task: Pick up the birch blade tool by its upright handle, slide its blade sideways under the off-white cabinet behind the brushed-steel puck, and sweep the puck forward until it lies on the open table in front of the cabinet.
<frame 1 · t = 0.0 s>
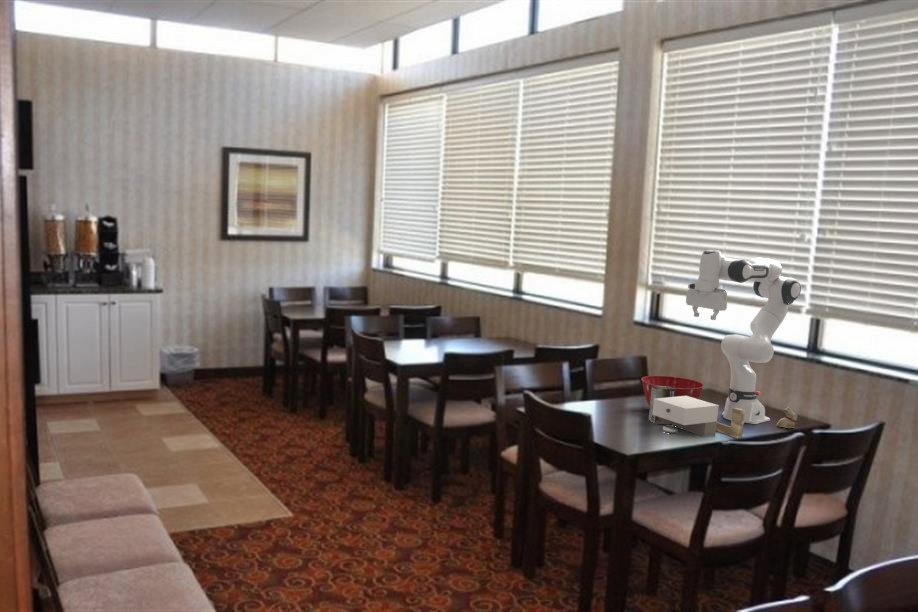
hand: (704, 318, 359), 48 cm above the table, tool pointing down, fingers open, 8 cm apart
chocolate bunny: (785, 428, 371), on the table
mixing bowl: (669, 414, 383), on the table
cabinet: (683, 431, 351), on the table
steel token: (669, 432, 348), on the table
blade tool: (735, 436, 348), on the table
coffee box: (660, 422, 364), on the table
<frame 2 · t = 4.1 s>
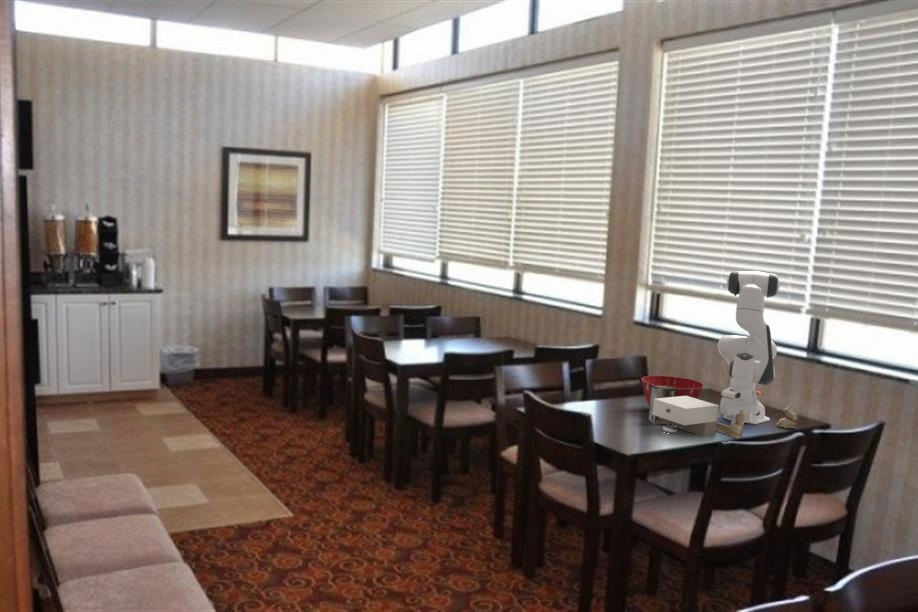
hand: (737, 423, 347), 6 cm above the table, tool pointing down, fingers closed on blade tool, 3 cm apart
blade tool: (735, 436, 348), on the table, touching gripper
everything else where it was.
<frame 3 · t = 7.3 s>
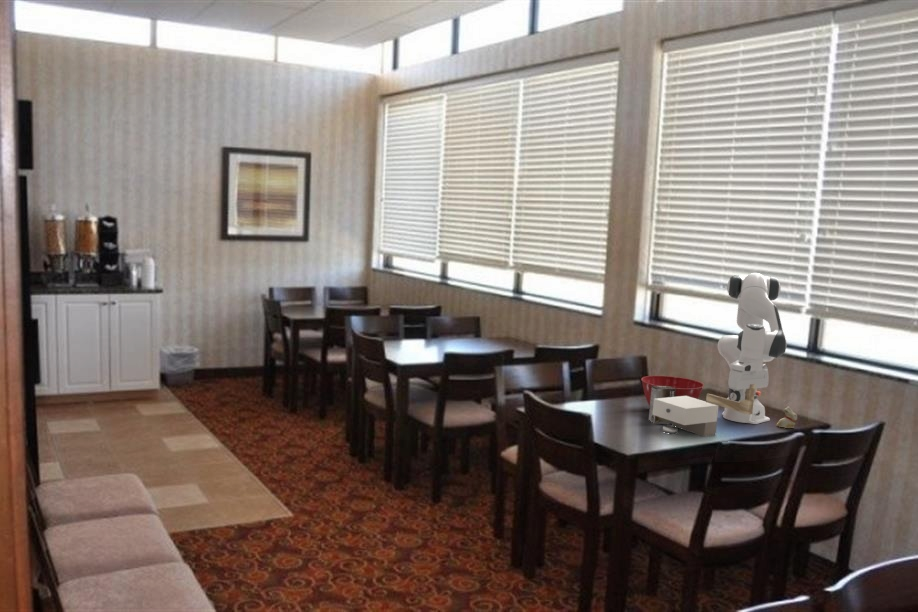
hand: (746, 399, 323), 21 cm above the table, tool pointing down, fingers closed on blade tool, 3 cm apart
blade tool: (745, 413, 324), point 16 cm above the table, touching gripper
everything else where it was.
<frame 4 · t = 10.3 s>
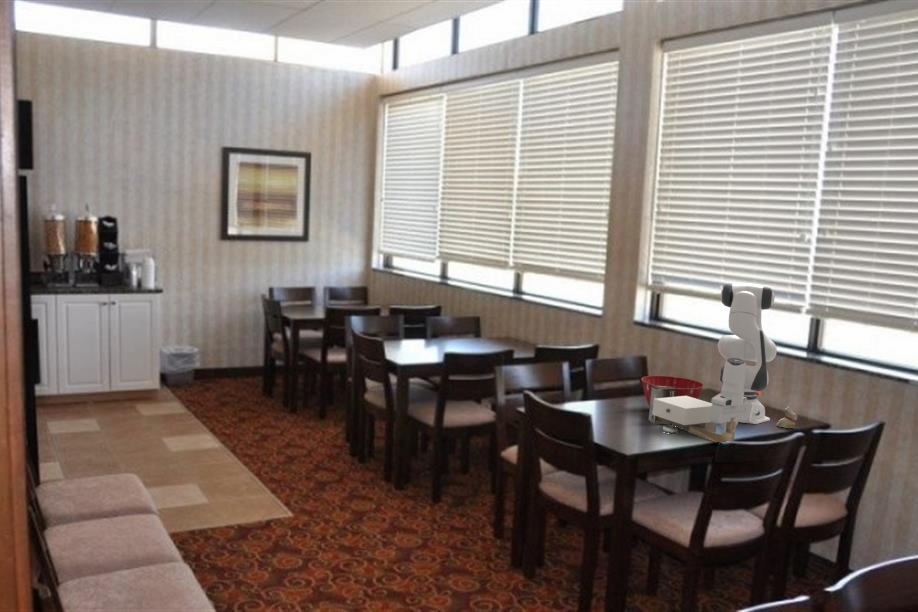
hand: (728, 432, 332), 6 cm above the table, tool pointing down, fingers closed on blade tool, 3 cm apart
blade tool: (726, 445, 332), on the table, touching gripper
everything else where it was.
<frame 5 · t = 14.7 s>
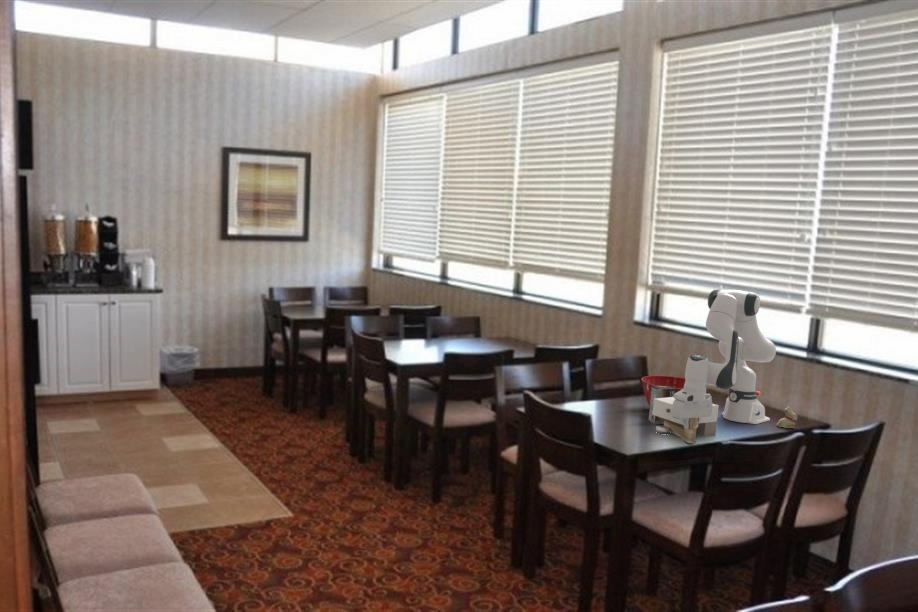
hand: (690, 428, 332), 6 cm above the table, tool pointing down, fingers closed on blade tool, 4 cm apart
steel token: (662, 432, 346), on the table, touching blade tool
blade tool: (689, 441, 333), point 1 cm above the table, touching gripper, steel token
everything else where it was.
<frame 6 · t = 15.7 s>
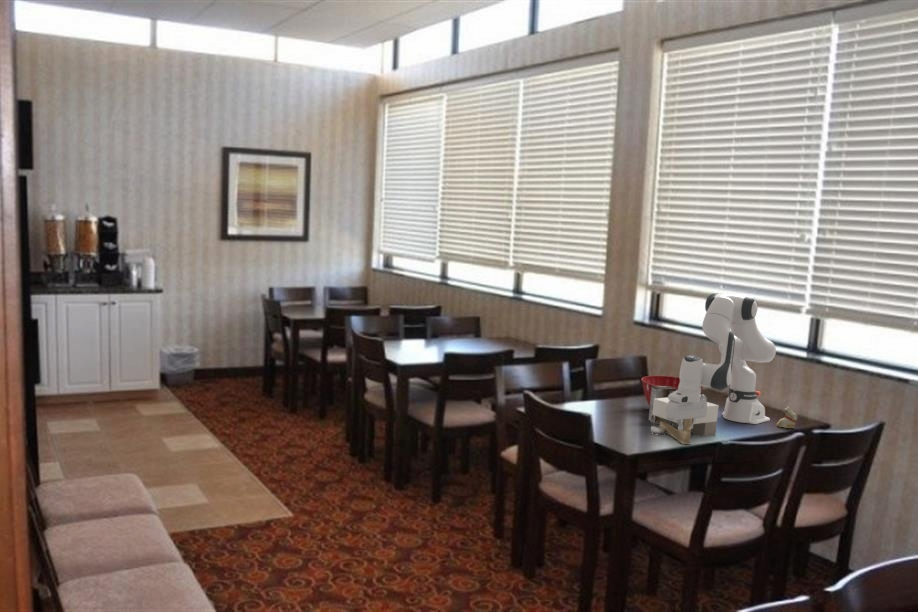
hand: (685, 429, 330), 6 cm above the table, tool pointing down, fingers closed on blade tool, 4 cm apart
steel token: (657, 433, 345), on the table, touching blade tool
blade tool: (683, 442, 331), on the table, touching gripper, steel token
everything else where it was.
when the fingers open (6 cm above the table, at t = 16.8 s): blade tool stays where it is, on the table.
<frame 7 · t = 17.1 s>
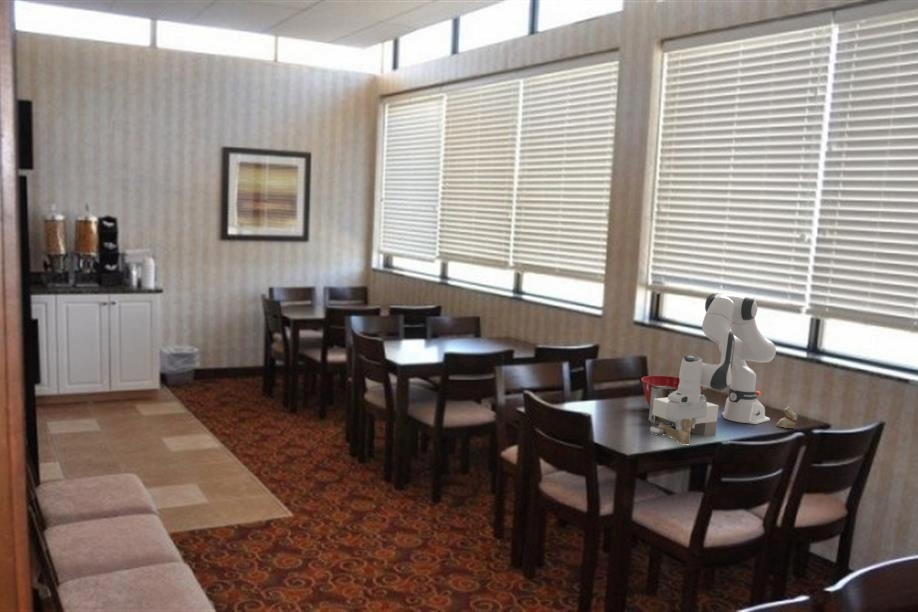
hand: (685, 429, 330), 6 cm above the table, tool pointing down, fingers open, 6 cm apart
steel token: (657, 433, 345), on the table
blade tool: (683, 443, 331), on the table
everything else where it was.
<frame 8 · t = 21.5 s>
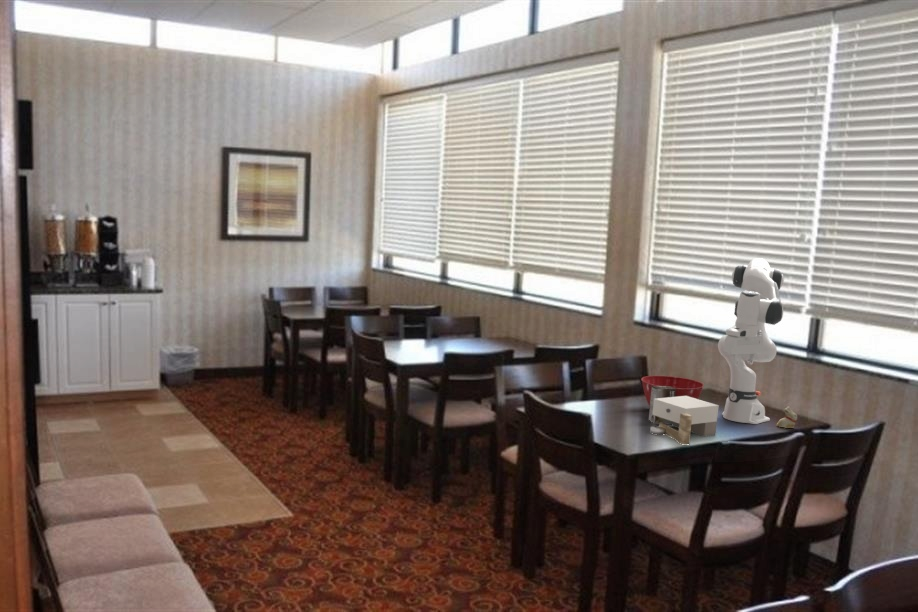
hand: (742, 364, 333), 33 cm above the table, tool pointing down, fingers open, 8 cm apart
nothing on the table moved.
at the end: steel token inside the target area (10.3 cm from its centre), on the table; the gripper is holding nothing; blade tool tilted 0° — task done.
